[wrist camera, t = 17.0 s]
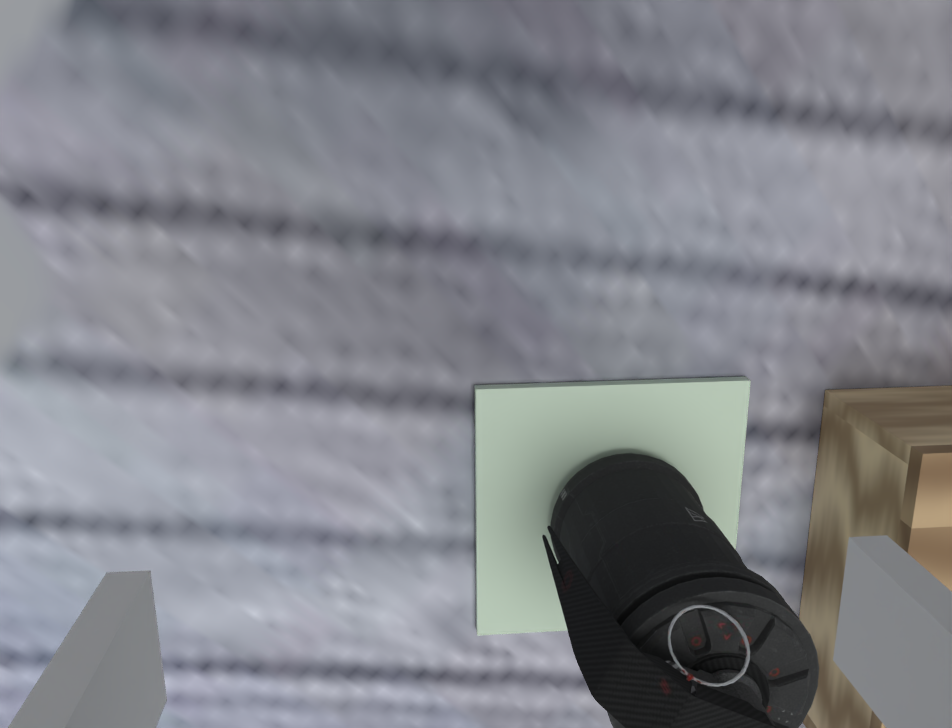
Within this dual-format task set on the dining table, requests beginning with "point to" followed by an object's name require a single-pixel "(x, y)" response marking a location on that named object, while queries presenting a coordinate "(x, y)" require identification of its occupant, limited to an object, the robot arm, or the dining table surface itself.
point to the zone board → (571, 449)
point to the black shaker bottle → (671, 607)
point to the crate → (873, 513)
